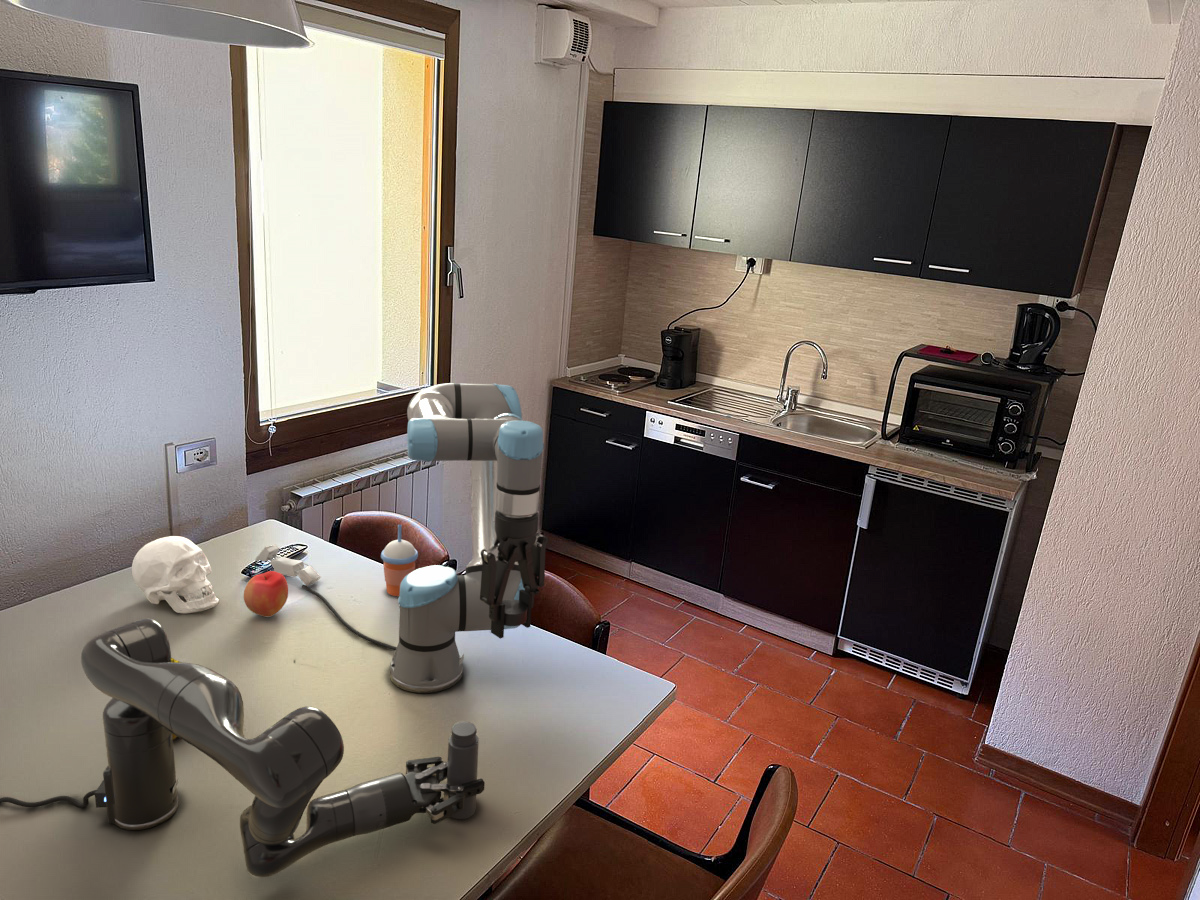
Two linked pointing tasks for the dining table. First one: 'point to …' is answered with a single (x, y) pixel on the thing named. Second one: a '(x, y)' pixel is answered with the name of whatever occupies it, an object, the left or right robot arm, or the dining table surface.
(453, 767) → the jar
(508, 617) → the lid
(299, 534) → the dining table surface
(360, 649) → the dining table surface
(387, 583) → the cup with straw
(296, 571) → the clamp
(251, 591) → the apple
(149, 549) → the skull
